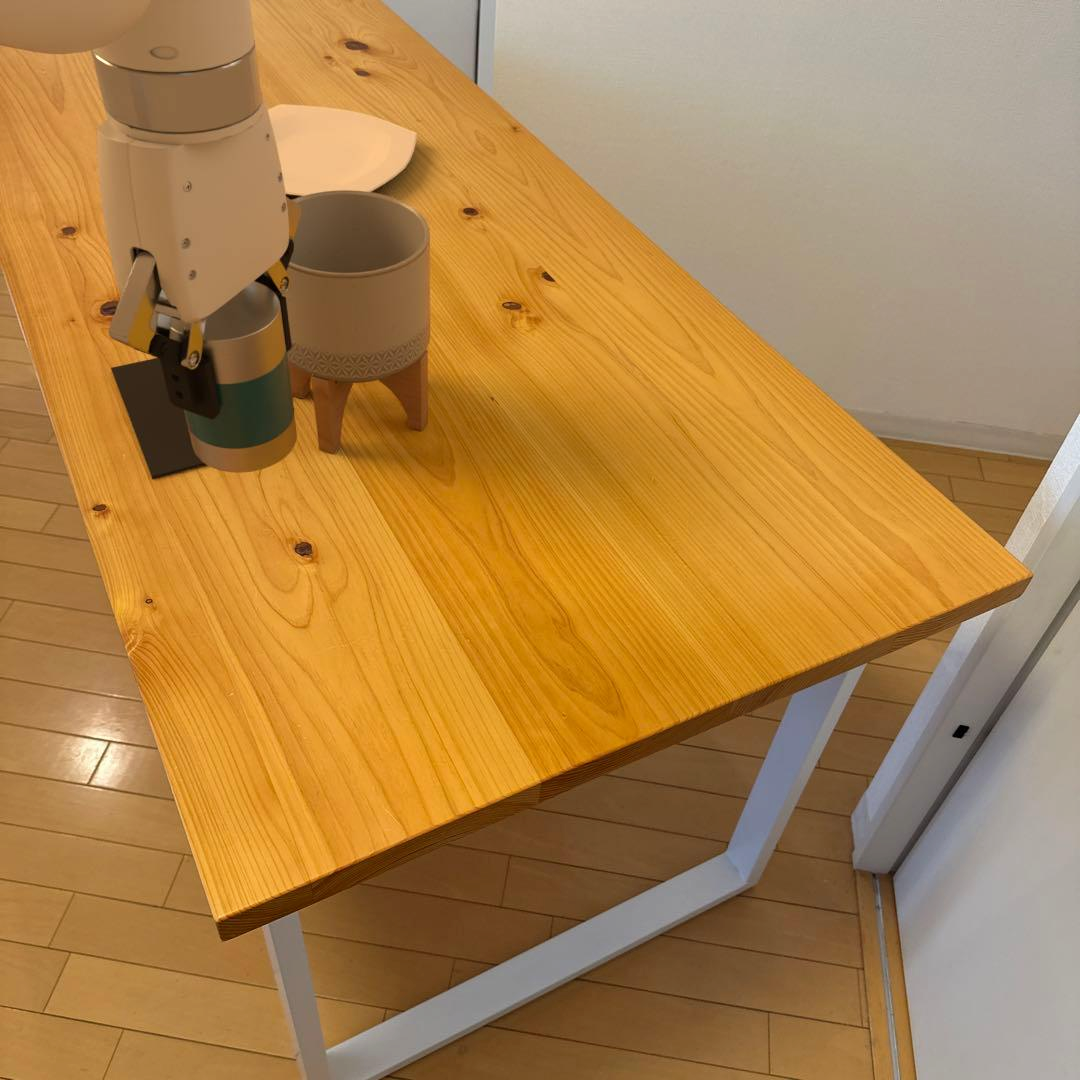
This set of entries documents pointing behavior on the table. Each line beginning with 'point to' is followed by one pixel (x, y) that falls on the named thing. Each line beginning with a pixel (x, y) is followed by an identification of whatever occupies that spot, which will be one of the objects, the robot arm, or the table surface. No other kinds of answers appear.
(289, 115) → the plate
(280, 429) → the can
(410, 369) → the planter
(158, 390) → the black flat rectangular slab
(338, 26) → the table surface
